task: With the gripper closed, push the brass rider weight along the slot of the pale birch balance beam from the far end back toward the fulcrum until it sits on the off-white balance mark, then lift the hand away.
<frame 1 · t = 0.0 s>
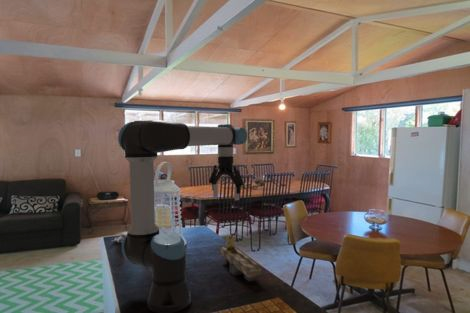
hand: (226, 198, 161), 28 cm above the table, fingers open, 13 cm apart
rider: (230, 243, 147), point 10 cm above the table, slide at 9.0 cm
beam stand: (239, 272, 140), on the table
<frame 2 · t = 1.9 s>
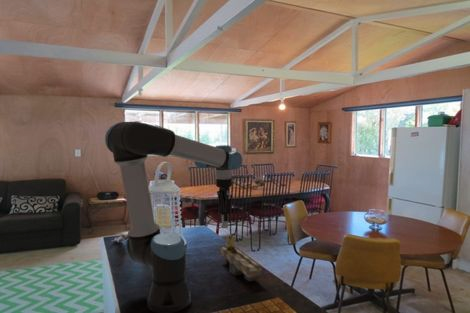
hand: (224, 227, 154), 15 cm above the table, fingers closed
nothing on the table moved.
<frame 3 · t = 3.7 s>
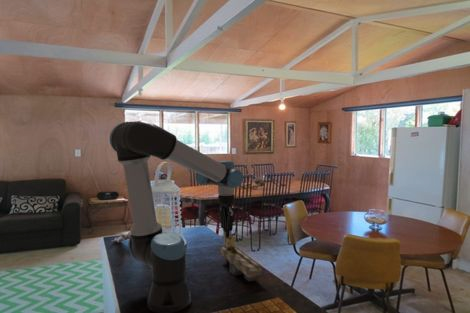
hand: (226, 244, 151), 8 cm above the table, fingers closed
rider: (230, 243, 147), point 10 cm above the table, slide at 9.0 cm, touching gripper
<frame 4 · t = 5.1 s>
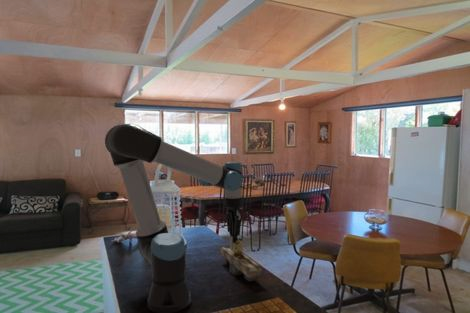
hand: (233, 249, 144), 8 cm above the table, fingers closed
rider: (237, 248, 140), point 10 cm above the table, slide at 1.1 cm, touching gripper
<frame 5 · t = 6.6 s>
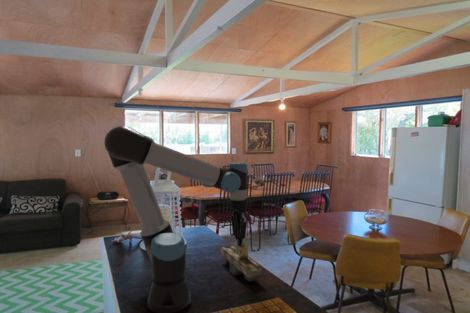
hand: (238, 253, 139), 8 cm above the table, fingers closed
rider: (243, 252, 136), point 10 cm above the table, slide at -4.0 cm, touching gripper
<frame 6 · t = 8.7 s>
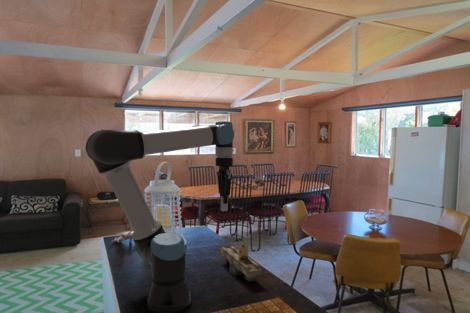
hand: (224, 210, 142), 26 cm above the table, fingers closed
rider: (243, 252, 136), point 10 cm above the table, slide at -4.0 cm
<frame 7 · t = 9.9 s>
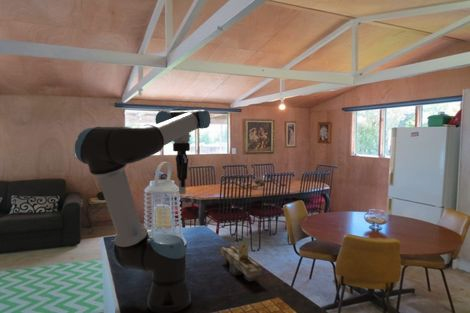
hand: (182, 193, 149), 32 cm above the table, fingers closed
nothing on the table moved.
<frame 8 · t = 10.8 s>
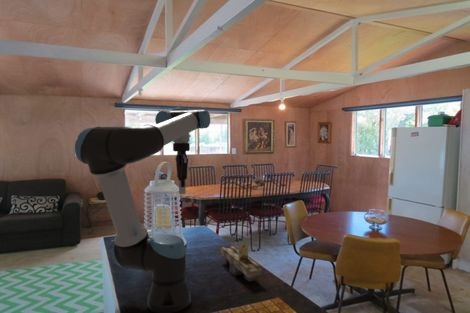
hand: (182, 193, 149), 32 cm above the table, fingers closed
nothing on the table moved.
at the end: rider slide at -4.0 cm; the gripper is holding nothing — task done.
